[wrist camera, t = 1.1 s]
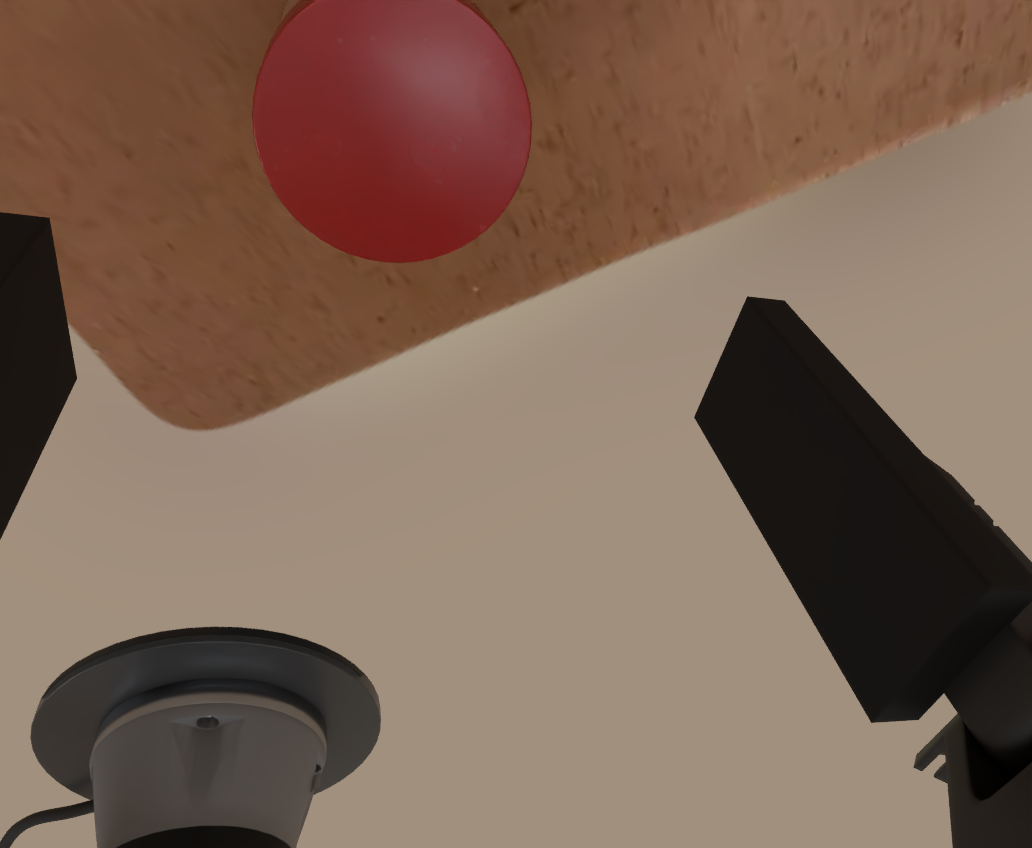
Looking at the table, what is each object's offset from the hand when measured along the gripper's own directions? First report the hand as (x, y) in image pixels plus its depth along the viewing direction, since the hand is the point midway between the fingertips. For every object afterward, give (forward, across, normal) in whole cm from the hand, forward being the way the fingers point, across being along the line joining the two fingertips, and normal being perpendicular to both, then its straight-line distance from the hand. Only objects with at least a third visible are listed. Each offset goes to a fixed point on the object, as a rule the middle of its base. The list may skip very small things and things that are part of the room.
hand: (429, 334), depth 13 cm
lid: (+10, 0, 0) cm, 10 cm away
